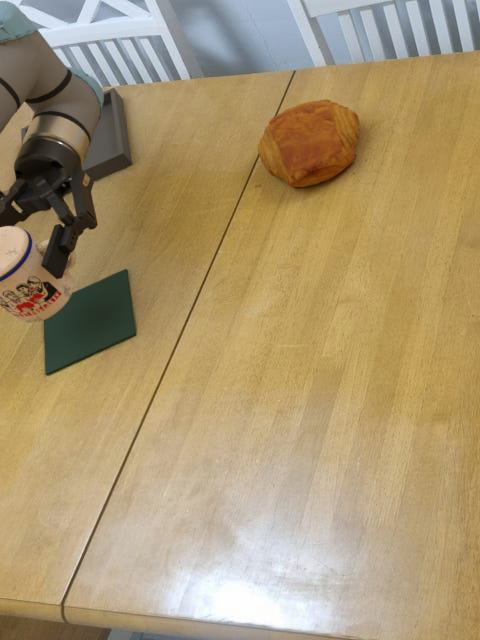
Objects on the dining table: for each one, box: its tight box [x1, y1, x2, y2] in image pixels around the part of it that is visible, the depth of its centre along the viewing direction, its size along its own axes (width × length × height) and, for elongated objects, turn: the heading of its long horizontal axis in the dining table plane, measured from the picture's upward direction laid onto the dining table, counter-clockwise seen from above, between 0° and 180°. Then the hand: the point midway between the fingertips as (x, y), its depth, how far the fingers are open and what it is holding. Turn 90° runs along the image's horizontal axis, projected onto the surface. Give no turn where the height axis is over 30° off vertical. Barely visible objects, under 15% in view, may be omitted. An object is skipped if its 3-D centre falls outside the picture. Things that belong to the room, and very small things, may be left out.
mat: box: [42, 268, 137, 376], centre depth 102 cm, size 13×13×1 cm
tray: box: [20, 87, 133, 182], centre depth 124 cm, size 18×20×2 cm
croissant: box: [257, 98, 361, 188], centre depth 108 cm, size 14×16×8 cm
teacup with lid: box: [0, 225, 77, 324], centre depth 92 cm, size 12×9×12 cm
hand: (6, 281), depth 89 cm, fingers closed on teacup with lid, 12 cm apart
